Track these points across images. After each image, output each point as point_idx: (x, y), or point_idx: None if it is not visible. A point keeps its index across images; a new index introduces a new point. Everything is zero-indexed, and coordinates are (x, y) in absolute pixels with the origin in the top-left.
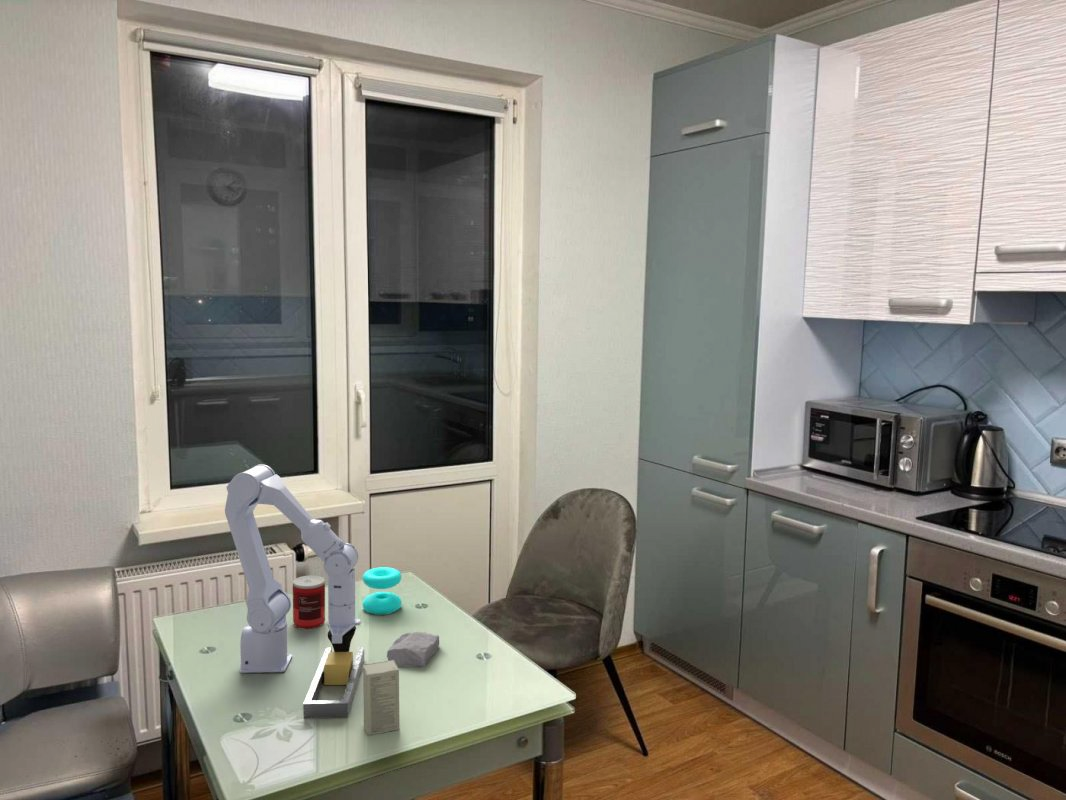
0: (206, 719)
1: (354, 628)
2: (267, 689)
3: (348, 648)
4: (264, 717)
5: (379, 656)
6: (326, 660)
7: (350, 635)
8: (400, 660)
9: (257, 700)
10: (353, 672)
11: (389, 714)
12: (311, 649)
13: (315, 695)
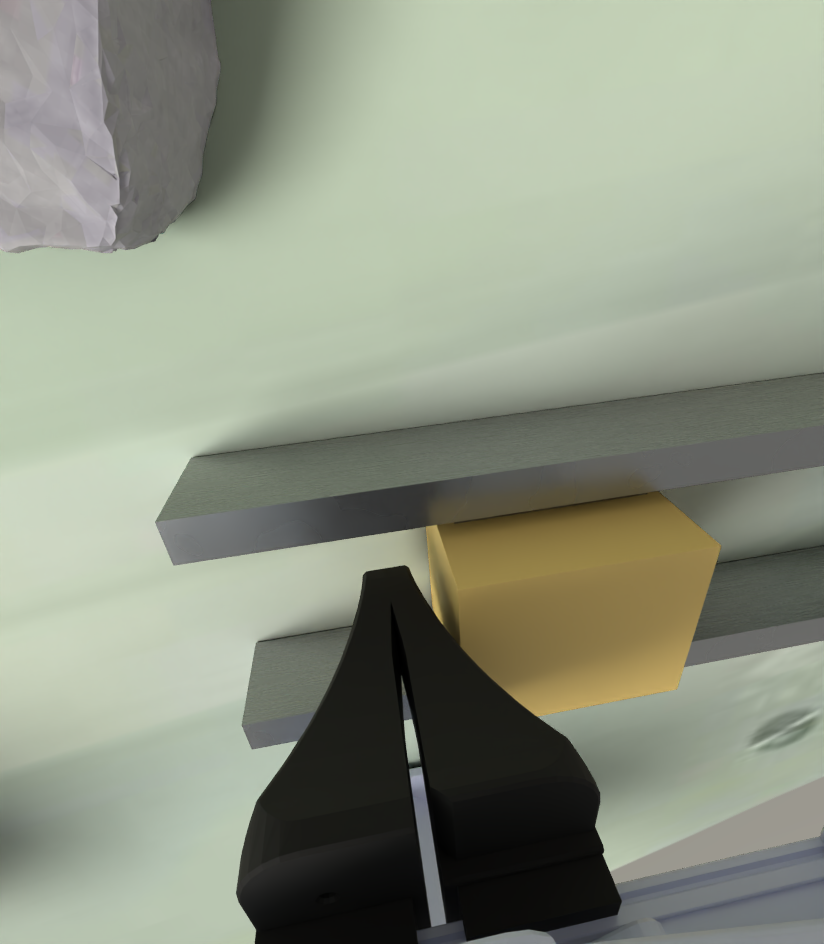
0: (758, 795)
1: (370, 850)
2: (587, 749)
3: (458, 647)
4: (815, 678)
5: (77, 346)
6: (608, 699)
7: (584, 796)
8: (184, 34)
9: (672, 742)
10: (691, 468)
11: None
12: (140, 765)
13: (813, 584)
